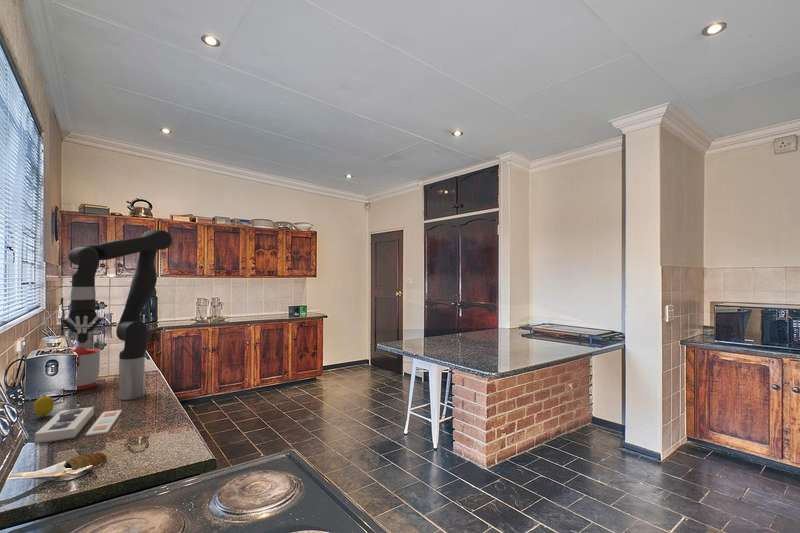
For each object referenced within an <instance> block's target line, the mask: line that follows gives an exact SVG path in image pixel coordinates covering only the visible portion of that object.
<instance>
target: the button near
mask: <svg viewBox="0 0 800 533" xmlns="http://www.w3.org/2000/svg"><path fill="white" fill-rule="evenodd" d="M67 427H68V422H60V423H56V424H54V425H52V430H54V429H61V428H67Z"/></svg>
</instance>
